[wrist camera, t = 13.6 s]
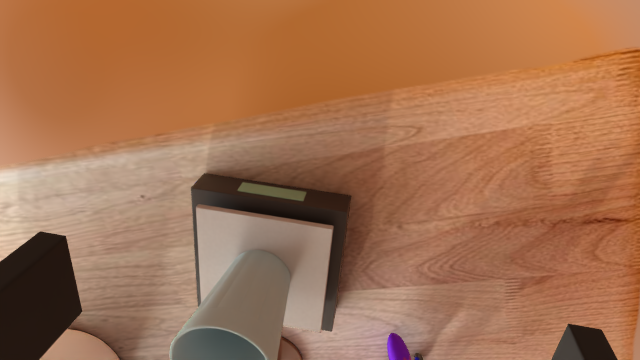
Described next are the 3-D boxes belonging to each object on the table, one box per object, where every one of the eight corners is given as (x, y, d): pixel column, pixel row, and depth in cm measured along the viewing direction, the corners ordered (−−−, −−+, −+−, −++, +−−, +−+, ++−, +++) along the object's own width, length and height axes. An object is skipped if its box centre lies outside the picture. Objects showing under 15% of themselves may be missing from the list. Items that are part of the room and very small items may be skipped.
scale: (204, 172, 42) (183, 194, 38) (351, 194, 40) (345, 220, 37) (208, 287, 48) (192, 316, 45) (335, 310, 47) (329, 342, 43)
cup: (320, 280, 40) (295, 378, 31) (265, 318, 43) (227, 417, 34) (258, 224, 38) (212, 309, 29) (206, 268, 41) (149, 357, 32)
